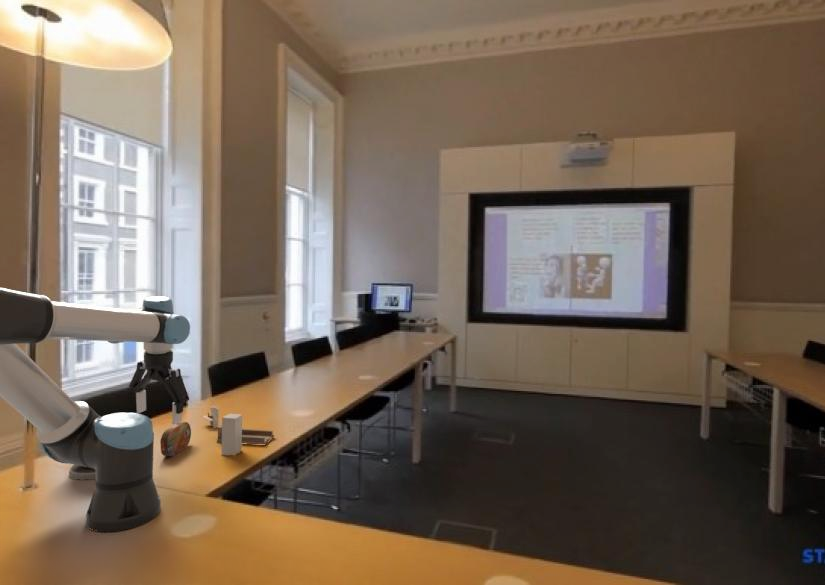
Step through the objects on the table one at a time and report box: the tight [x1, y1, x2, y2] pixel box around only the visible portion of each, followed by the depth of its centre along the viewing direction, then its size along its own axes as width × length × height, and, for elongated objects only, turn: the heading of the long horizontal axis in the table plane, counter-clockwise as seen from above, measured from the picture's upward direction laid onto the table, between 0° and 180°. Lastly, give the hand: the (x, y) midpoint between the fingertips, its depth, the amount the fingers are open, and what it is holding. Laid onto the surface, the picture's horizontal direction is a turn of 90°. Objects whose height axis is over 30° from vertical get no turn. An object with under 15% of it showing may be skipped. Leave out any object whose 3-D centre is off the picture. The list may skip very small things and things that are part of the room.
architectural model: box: [201, 405, 220, 428], centre depth 181 cm, size 3×7×7 cm, turn 45°
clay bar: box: [221, 413, 243, 456], centre depth 155 cm, size 4×4×12 cm
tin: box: [159, 421, 192, 457], centre depth 155 cm, size 15×3×8 cm, turn 179°
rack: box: [216, 424, 275, 445], centre depth 167 cm, size 8×17×5 cm, turn 83°
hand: (159, 417), depth 143 cm, fingers open, 13 cm apart
